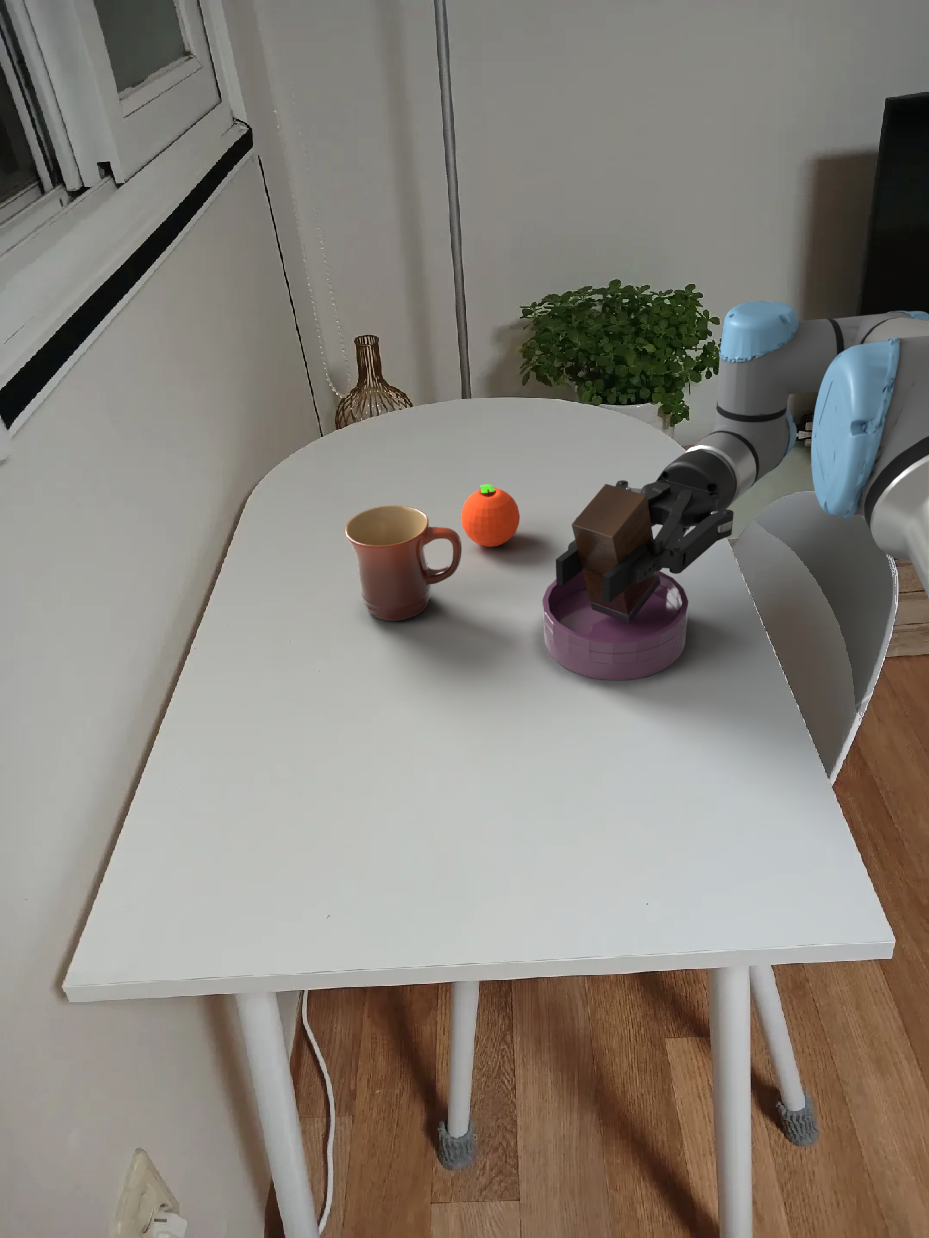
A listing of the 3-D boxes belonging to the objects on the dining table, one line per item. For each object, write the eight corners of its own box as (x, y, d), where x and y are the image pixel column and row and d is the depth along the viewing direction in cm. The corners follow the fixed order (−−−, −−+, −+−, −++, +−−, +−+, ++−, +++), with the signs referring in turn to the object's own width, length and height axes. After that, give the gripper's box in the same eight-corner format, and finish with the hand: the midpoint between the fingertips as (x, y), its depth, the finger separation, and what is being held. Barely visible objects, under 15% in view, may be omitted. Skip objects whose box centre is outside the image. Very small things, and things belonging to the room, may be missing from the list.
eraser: (660, 583, 96) (646, 494, 88) (630, 624, 94) (612, 537, 85) (622, 570, 99) (605, 483, 90) (591, 609, 96) (571, 524, 88)
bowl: (715, 638, 96) (718, 601, 93) (612, 700, 89) (613, 662, 86) (615, 582, 105) (615, 547, 103) (516, 634, 99) (513, 599, 96)
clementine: (457, 529, 118) (452, 477, 114) (511, 520, 118) (508, 468, 114) (469, 561, 111) (464, 508, 107) (527, 552, 112) (524, 498, 108)
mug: (351, 629, 102) (336, 547, 96) (366, 584, 109) (354, 505, 103) (462, 629, 100) (454, 545, 94) (470, 584, 107) (463, 503, 101)
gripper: (779, 533, 99) (664, 644, 85) (633, 492, 109) (509, 586, 95) (787, 468, 95) (668, 574, 81) (635, 431, 105) (505, 520, 91)
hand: (582, 580), depth 88 cm, fingers closed on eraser, 4 cm apart
